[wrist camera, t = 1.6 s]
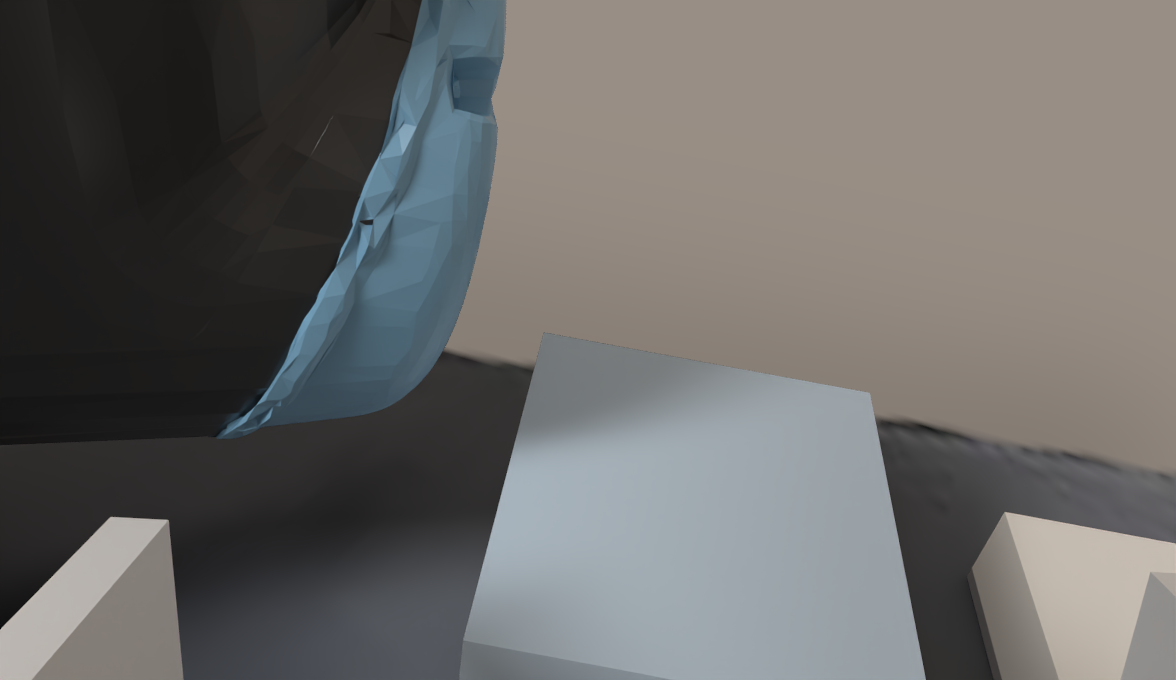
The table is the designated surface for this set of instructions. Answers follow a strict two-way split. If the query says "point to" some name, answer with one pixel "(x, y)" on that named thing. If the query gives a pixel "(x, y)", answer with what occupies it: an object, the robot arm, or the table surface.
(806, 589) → the grey-blue block
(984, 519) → the table surface
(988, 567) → the socket
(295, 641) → the table surface
